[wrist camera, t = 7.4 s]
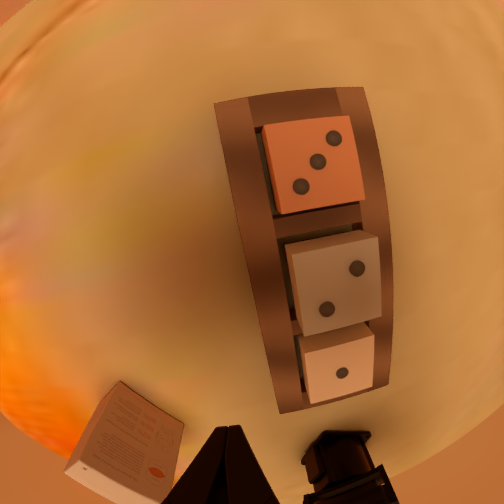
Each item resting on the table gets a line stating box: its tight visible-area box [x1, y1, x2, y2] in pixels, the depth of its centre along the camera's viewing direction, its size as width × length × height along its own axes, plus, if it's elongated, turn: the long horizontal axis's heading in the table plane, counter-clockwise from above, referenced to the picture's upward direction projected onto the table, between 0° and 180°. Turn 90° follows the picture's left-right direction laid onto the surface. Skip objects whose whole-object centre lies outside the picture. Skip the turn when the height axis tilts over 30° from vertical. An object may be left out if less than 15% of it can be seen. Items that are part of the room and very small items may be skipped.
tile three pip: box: [261, 116, 365, 214], centre depth 15 cm, size 5×5×3 cm
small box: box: [64, 382, 184, 504], centre depth 18 cm, size 8×6×10 cm
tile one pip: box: [298, 322, 374, 404], centre depth 19 cm, size 5×5×3 cm
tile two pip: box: [285, 230, 382, 337], centre depth 16 cm, size 5×5×3 cm
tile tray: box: [214, 87, 393, 414], centre depth 19 cm, size 24×10×2 cm, turn 11°
